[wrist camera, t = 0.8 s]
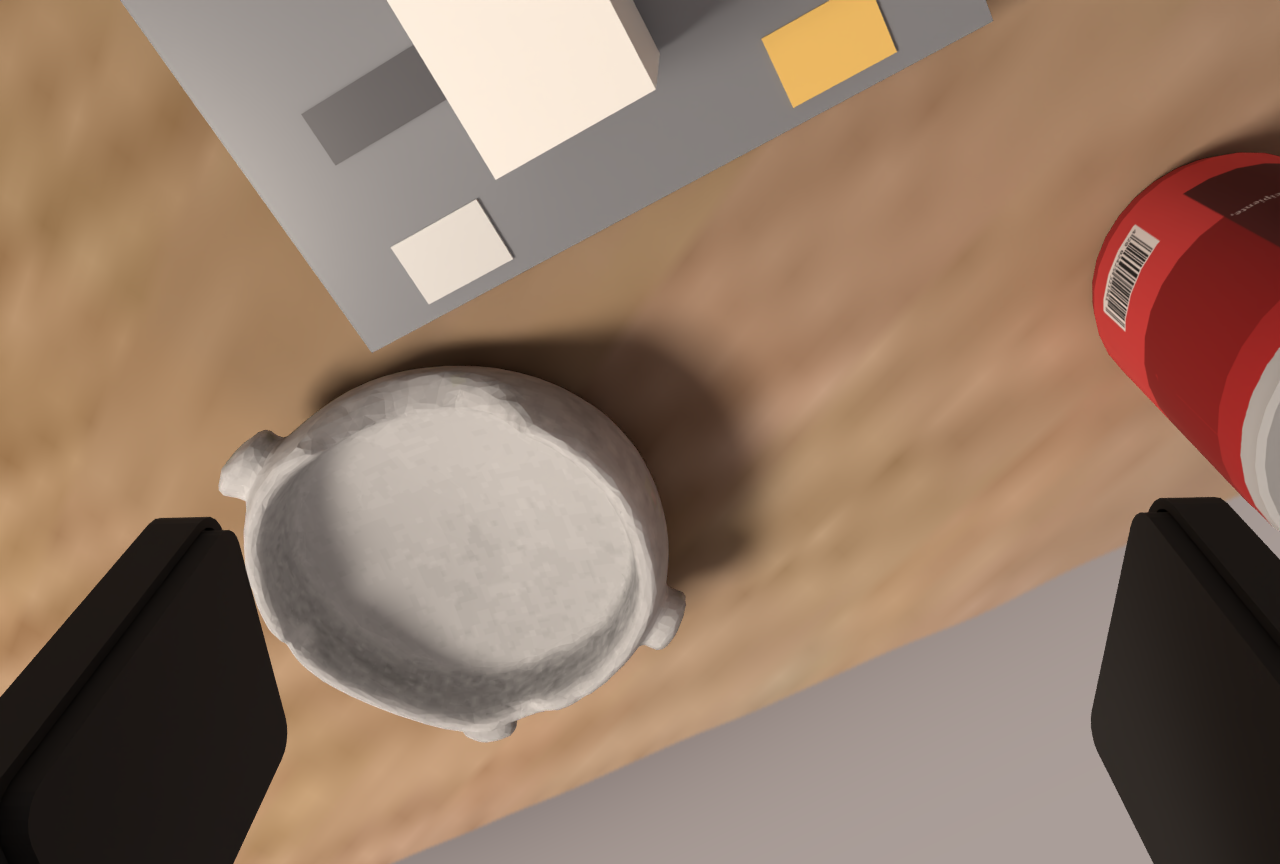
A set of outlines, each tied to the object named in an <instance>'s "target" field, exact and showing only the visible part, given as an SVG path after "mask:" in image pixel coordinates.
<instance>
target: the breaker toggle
mask: <svg viewBox="0 0 1280 864" xmlns="http://www.w3.org/2000/svg"><path fill="white" fill-rule="evenodd" d="M387 2H388V3H389V5H390V6H391V8H392V10H393V11H394V13H395V15H396V16H397V18H398V20H399V21H400V23H401V25H402V26H403V28H404V30H405V31H406V33H407V35H408V36H409V38H410V39H411V41H412V43H413V44H414V46H415V48H416V49H417V51H418V53H419V54H420V56H421V58H422V59H423V61H424V63H425V64H426V66H427V67H428V69H429V71H430V72H431V74H432V76H433V77H434V79H435V81H436V82H437V84H438V86H439V87H440V89H441V91H442V92H443V94H444V96H445V97H446V99H447V100H448V102H449V104H450V105H451V107H452V109H453V110H454V112H455V114H456V115H457V117H458V119H459V120H460V122H461V124H462V125H463V127H464V128H465V130H466V132H467V133H468V135H469V137H470V138H471V140H472V142H473V143H474V145H475V147H476V148H477V150H478V152H479V153H480V155H481V157H482V158H483V160H484V161H485V163H486V165H487V166H488V168H489V170H490V171H491V173H492V175H493V176H494V178H495V180H496V179H498V178H500V177H502V176H504V175H505V174H507V173H509V172H511V171H512V170H514V169H516V168H518V167H519V166H521V165H523V164H525V163H527V162H528V161H530V160H532V159H534V158H535V157H537V156H539V155H541V154H542V153H544V152H546V151H548V150H550V149H551V148H553V147H555V146H557V145H558V144H560V143H562V142H564V141H565V140H567V139H569V138H571V137H573V136H574V135H576V134H578V133H580V132H581V131H583V130H585V129H587V128H588V127H590V126H592V125H594V124H596V123H597V122H599V121H601V120H603V119H604V118H606V117H608V116H610V115H611V114H613V113H615V112H617V111H619V110H620V109H622V108H624V107H626V106H627V105H629V104H631V103H633V102H635V101H636V100H638V99H640V98H642V97H643V96H645V95H647V94H649V93H650V92H652V91H654V90H656V83H657V75H658V66H659V57H660V53H659V51H658V49H657V47H656V45H655V43H654V41H653V39H652V37H651V35H650V33H649V31H648V29H647V27H646V25H645V23H644V21H643V19H642V17H641V15H640V13H639V11H638V9H637V7H636V5H635V3H634V1H633V0H387Z"/></svg>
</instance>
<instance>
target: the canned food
mask: <svg viewBox="0 0 1280 864" xmlns="http://www.w3.org/2000/svg"><path fill="white" fill-rule="evenodd" d="M1092 292H1093V308H1094V314H1095V319H1096V323H1097V327H1098V332H1099V335H1100V337H1101V339H1102V341H1103V344H1104V346H1105V348H1106V350H1107V352H1108V354H1109V355H1110V356H1111V357H1112V359H1113V360H1114V361H1115V362H1116V363H1117V365H1118V366H1119V367H1120V368H1121V369H1122V370H1123V371H1124V373H1125V374H1126V375H1127V376H1128V377H1129V378H1130V379H1131V380H1132V381H1133V382H1134V383H1135V384H1136V385H1137V386H1138V387H1139V388H1140V389H1141V390H1142V391H1143V393H1144V394H1145V395H1146V396H1147V397H1148V398H1149V399H1150V400H1151V401H1152V402H1153V403H1154V404H1155V405H1156V406H1157V407H1158V408H1159V409H1160V410H1161V411H1162V413H1163V414H1164V415H1165V416H1166V417H1167V418H1168V419H1169V420H1170V421H1171V422H1172V423H1173V424H1174V425H1175V426H1176V427H1177V428H1178V429H1179V430H1180V431H1181V433H1182V434H1183V435H1184V436H1185V437H1186V438H1187V439H1188V440H1189V441H1190V442H1191V443H1192V444H1193V445H1194V446H1195V447H1196V448H1197V449H1198V450H1199V452H1200V453H1201V454H1202V455H1203V456H1204V457H1205V458H1206V459H1207V460H1208V461H1209V462H1210V463H1211V464H1212V465H1213V466H1214V467H1215V468H1216V469H1217V470H1218V472H1219V473H1220V474H1221V475H1222V476H1223V477H1224V478H1225V479H1226V480H1227V481H1228V482H1229V483H1230V484H1231V485H1232V486H1233V487H1234V488H1235V489H1236V490H1237V492H1238V493H1239V494H1240V495H1241V496H1242V497H1243V498H1244V499H1245V500H1246V501H1247V502H1248V503H1249V504H1250V505H1251V506H1253V507H1254V508H1255V509H1256V510H1257V511H1258V512H1259V513H1260V514H1261V515H1262V516H1263V517H1264V518H1265V519H1266V520H1267V521H1268V522H1269V523H1270V525H1271V526H1273V527H1274V528H1275V529H1277V530H1278V531H1279V532H1280V156H1276V155H1271V154H1267V153H1233V154H1227V155H1221V156H1216V157H1210V158H1205V159H1200V160H1197V161H1195V162H1192V163H1190V164H1187V165H1184V166H1182V167H1179V168H1177V169H1175V170H1173V171H1171V172H1170V173H1168V174H1166V175H1165V176H1163V177H1161V178H1159V179H1158V180H1156V181H1154V182H1153V183H1152V184H1151V185H1150V186H1148V187H1147V188H1146V189H1145V190H1144V191H1142V192H1141V193H1140V194H1139V195H1138V196H1136V197H1135V198H1134V199H1133V200H1132V202H1131V203H1130V204H1129V205H1128V206H1127V207H1126V209H1125V210H1124V211H1123V212H1122V213H1121V214H1120V215H1119V217H1118V218H1117V220H1116V221H1115V223H1114V225H1113V226H1112V228H1111V230H1110V231H1109V233H1108V234H1107V236H1106V238H1105V240H1104V243H1103V245H1102V248H1101V250H1100V253H1099V255H1098V258H1097V261H1096V266H1095V271H1094V276H1093V281H1092Z"/></svg>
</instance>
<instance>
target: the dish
mask: <svg viewBox="0 0 1280 864" xmlns="http://www.w3.org/2000/svg"><path fill="white" fill-rule="evenodd" d="M219 491H220V492H221V493H222V494H223V495H225V496H230V497H235V498H239V499H242V500H244V501H246V517H245V526H244V553H245V564H246V571H247V575H248V579H249V582H250V585H251V588H252V590H253V593H254V597H255V600H256V604H257V607H258V609H259V611H260V613H261V615H262V617H263V619H264V621H265V623H266V625H267V627H268V628H269V630H270V631H271V632H272V633H273V634H274V635H275V636H276V637H277V638H278V639H279V640H280V641H282V642H284V643H286V644H287V645H288V647H289V648H290V650H291V652H292V653H293V655H294V656H295V657H296V658H297V660H298V661H299V662H300V663H301V664H302V665H303V666H304V667H305V668H306V669H308V670H309V671H310V672H311V673H313V674H314V675H315V676H317V677H318V678H319V679H321V680H322V681H324V682H325V683H327V684H329V685H331V686H333V687H334V688H336V689H338V690H340V691H342V692H344V693H346V694H348V695H350V696H352V697H354V698H356V699H359V700H361V701H363V702H365V703H368V704H370V705H372V706H375V707H377V708H380V709H383V710H385V711H388V712H390V713H393V714H396V715H398V716H402V717H405V718H408V719H411V720H414V721H417V722H420V723H424V724H427V725H431V726H435V727H438V728H442V729H448V730H454V731H462V732H463V733H464V734H465V735H466V737H468V738H471V739H473V740H476V741H478V742H492V741H498V740H500V739H503V738H505V737H508V736H510V735H511V734H512V733H513V732H514V730H515V728H516V725H517V720H519V719H521V718H524V717H526V716H529V715H532V714H535V713H538V712H543V711H549V710H560V709H562V708H565V707H568V706H570V705H572V704H574V703H575V702H577V701H578V700H580V699H581V698H583V697H584V696H586V695H589V694H591V693H592V692H594V691H595V690H596V689H598V688H599V687H600V686H602V685H603V684H604V683H606V682H607V681H608V680H609V679H610V678H611V677H612V676H613V675H614V674H615V673H616V672H617V671H618V670H619V669H620V668H621V667H622V666H623V665H624V664H625V663H626V662H627V661H628V660H629V659H630V657H631V656H632V655H633V653H634V652H635V651H636V650H637V648H638V647H639V646H641V645H646V646H648V647H651V648H653V649H656V650H659V649H663V648H665V647H666V646H667V645H668V644H669V643H670V642H671V640H672V639H673V638H674V636H675V635H676V633H677V631H678V628H679V626H680V623H681V621H682V618H683V615H684V611H685V606H686V602H685V595H684V593H683V592H681V591H678V590H676V589H673V588H671V587H669V586H668V585H667V583H666V581H667V571H668V559H669V549H668V533H667V525H666V520H665V515H664V511H663V508H662V504H661V500H660V497H659V494H658V491H657V488H656V485H655V483H654V481H653V479H652V477H651V474H650V472H649V470H648V468H647V466H646V465H645V463H644V461H643V459H642V457H641V456H640V454H639V452H638V451H637V449H636V448H635V446H634V445H633V444H632V442H631V441H630V440H629V439H628V438H627V436H626V435H625V434H624V433H623V432H622V431H621V430H620V429H619V427H618V426H617V425H616V424H615V423H614V422H612V421H611V420H610V419H609V418H608V417H607V416H606V415H605V414H604V413H602V412H601V411H600V410H598V409H597V408H596V407H594V406H593V405H591V404H590V403H588V402H586V401H585V400H583V399H582V398H580V397H578V396H576V395H575V394H573V393H571V392H569V391H567V390H566V389H564V388H562V387H560V386H557V385H555V384H552V383H550V382H547V381H545V380H542V379H540V378H537V377H533V376H530V375H526V374H522V373H519V372H514V371H509V370H503V369H498V368H490V367H481V366H440V367H427V368H419V369H413V370H407V371H402V372H398V373H395V374H391V375H387V376H383V377H380V378H378V379H375V380H372V381H369V382H367V383H365V384H362V385H360V386H358V387H356V388H354V389H351V390H349V391H348V392H346V393H344V394H343V395H341V396H339V397H338V398H336V399H334V400H333V401H331V402H330V403H329V404H327V405H326V406H324V407H323V408H322V409H320V410H319V411H318V412H316V413H315V414H314V415H312V416H311V417H310V418H308V419H307V420H306V421H305V422H304V423H303V424H301V425H300V426H299V427H298V428H297V429H296V430H294V431H293V432H292V433H291V434H290V435H289V436H287V437H284V438H283V437H280V436H277V435H276V434H274V433H273V432H272V431H268V430H264V431H261V432H258V433H257V434H256V435H254V436H253V437H252V438H250V439H249V440H247V441H246V442H245V443H244V444H242V445H241V446H240V447H239V448H238V449H237V450H236V451H235V453H234V454H233V455H232V456H231V457H230V459H229V460H228V461H227V462H226V464H225V465H224V467H223V468H222V470H221V476H220V481H219Z"/></svg>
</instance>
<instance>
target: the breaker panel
mask: <svg viewBox="0 0 1280 864" xmlns="http://www.w3.org/2000/svg"><path fill="white" fill-rule="evenodd" d="M120 1H121V2H122V3H123V5H124V6H125V8H126V9H127V10H128V12H129V13H130V15H131V16H132V17H133V19H134V20H135V22H136V23H137V24H138V26H139V27H140V29H141V30H142V31H143V33H144V34H145V36H146V37H147V38H148V40H149V41H150V43H151V44H152V45H153V47H154V48H155V50H156V51H157V52H158V54H159V55H160V57H161V58H162V59H163V61H164V62H165V64H166V65H167V66H168V68H169V69H170V71H171V72H172V73H173V75H174V76H175V78H176V79H177V80H178V82H179V83H180V85H181V86H182V87H183V89H184V90H185V92H186V93H187V94H188V96H189V97H190V99H191V100H192V101H193V103H194V104H195V106H196V107H197V108H198V110H199V111H200V113H201V114H202V115H203V117H204V118H205V120H206V121H207V122H208V124H209V125H210V127H211V128H212V129H213V131H214V132H215V134H216V135H217V136H218V138H219V139H220V141H221V142H222V143H223V145H224V146H225V148H226V149H227V151H228V152H229V153H230V155H231V156H232V158H233V159H234V160H235V162H236V163H237V165H238V166H239V167H240V169H241V170H242V172H243V173H244V174H245V176H246V177H247V179H248V180H249V181H250V183H251V184H252V186H253V187H254V188H255V190H256V191H257V193H258V194H259V195H260V197H261V198H262V200H263V201H264V202H265V204H266V205H267V207H268V208H269V209H270V211H271V212H272V214H273V215H274V216H275V218H276V219H277V221H278V222H279V223H280V225H281V226H282V228H283V229H284V230H285V232H286V233H287V235H288V236H289V237H290V239H291V240H292V242H293V243H294V244H295V246H296V247H297V249H298V250H299V251H300V253H301V254H302V256H303V257H304V258H305V260H306V261H307V263H308V264H309V265H310V267H311V268H312V270H313V271H314V272H315V274H316V275H317V277H318V278H319V279H320V281H321V282H322V284H323V285H324V286H325V288H326V289H327V291H328V292H329V293H330V295H331V296H332V298H333V299H334V300H335V302H336V303H337V305H338V306H339V307H340V309H341V310H342V312H343V313H344V314H345V316H346V317H347V319H348V320H349V321H350V323H351V324H352V326H353V327H354V328H355V330H356V331H357V333H358V334H359V335H360V337H361V338H362V340H363V341H364V342H365V344H366V345H367V347H368V348H369V349H370V351H371V352H372V353H373V352H375V351H376V350H378V349H380V348H382V347H384V346H386V345H388V344H390V343H391V342H393V341H395V340H397V339H399V338H401V337H403V336H405V335H406V334H408V333H410V332H412V331H414V330H416V329H418V328H419V327H421V326H423V325H425V324H427V323H429V322H431V321H433V320H434V319H436V318H438V317H440V316H442V315H444V314H446V313H448V312H449V311H451V310H453V309H455V308H457V307H459V306H461V305H463V304H464V303H466V302H468V301H470V300H472V299H474V298H476V297H478V296H479V295H481V294H483V293H485V292H487V291H489V290H491V289H492V288H494V287H496V286H498V285H500V284H502V283H504V282H506V281H507V280H509V279H511V278H513V277H515V276H517V275H519V274H521V273H522V272H524V271H526V270H528V269H530V268H532V267H534V266H536V265H537V264H539V263H541V262H543V261H545V260H547V259H549V258H551V257H552V256H554V255H556V254H558V253H560V252H562V251H564V250H565V249H567V248H569V247H571V246H573V245H575V244H577V243H579V242H580V241H582V240H584V239H586V238H588V237H590V236H592V235H594V234H595V233H597V232H599V231H601V230H603V229H605V228H607V227H609V226H610V225H612V224H614V223H616V222H618V221H620V220H622V219H624V218H625V217H627V216H629V215H631V214H633V213H635V212H637V211H638V210H640V209H642V208H644V207H646V206H648V205H650V204H652V203H653V202H655V201H657V200H659V199H661V198H663V197H665V196H667V195H668V194H670V193H672V192H674V191H676V190H678V189H680V188H682V187H683V186H685V185H687V184H689V183H691V182H693V181H695V180H697V179H698V178H700V177H702V176H704V175H706V174H708V173H710V172H711V171H713V170H715V169H717V168H719V167H721V166H723V165H725V164H726V163H728V162H730V161H732V160H734V159H736V158H738V157H740V156H741V155H743V154H745V153H747V152H749V151H751V150H753V149H755V148H756V147H758V146H760V145H762V144H764V143H766V142H768V141H770V140H771V139H773V138H775V137H777V136H779V135H781V134H783V133H785V132H786V131H788V130H790V129H792V128H794V127H796V126H798V125H799V124H801V123H803V122H805V121H807V120H809V119H811V118H813V117H814V116H816V115H818V114H820V113H822V112H824V111H826V110H828V109H829V108H831V107H833V106H835V105H837V104H839V103H841V102H843V101H844V100H846V99H848V98H850V97H852V96H854V95H856V94H858V93H859V92H861V91H863V90H865V89H867V88H869V87H871V86H872V85H874V84H876V83H878V82H880V81H882V80H884V79H886V78H887V77H889V76H891V75H893V74H895V73H897V72H899V71H901V70H902V69H904V68H906V67H908V66H910V65H912V64H914V63H916V62H917V61H919V60H921V59H923V58H925V57H927V56H929V55H931V54H932V53H934V52H936V51H938V50H940V49H942V48H944V47H945V46H947V45H949V44H951V43H953V42H955V41H957V40H959V39H960V38H962V37H964V36H966V35H968V34H970V33H972V32H974V31H975V30H977V29H979V28H981V27H983V26H985V25H987V24H989V23H990V22H992V21H993V19H992V16H991V13H990V10H989V8H988V5H987V2H986V0H633V1H634V3H635V5H636V7H637V9H638V11H639V13H640V15H641V17H642V19H643V21H644V23H645V25H646V27H647V29H648V31H649V33H650V35H651V37H652V39H653V41H654V43H655V45H656V47H657V49H658V51H659V53H660V57H659V66H658V75H657V83H656V90H654V91H652V92H650V93H649V94H647V95H645V96H643V97H642V98H640V99H638V100H636V101H635V102H633V103H631V104H629V105H627V106H626V107H624V108H622V109H620V110H619V111H617V112H615V113H613V114H611V115H610V116H608V117H606V118H604V119H603V120H601V121H599V122H597V123H596V124H594V125H592V126H590V127H588V128H587V129H585V130H583V131H581V132H580V133H578V134H576V135H574V136H573V137H571V138H569V139H567V140H565V141H564V142H562V143H560V144H558V145H557V146H555V147H553V148H551V149H550V150H548V151H546V152H544V153H542V154H541V155H539V156H537V157H535V158H534V159H532V160H530V161H528V162H527V163H525V164H523V165H521V166H519V167H518V168H516V169H514V170H512V171H511V172H509V173H507V174H505V175H504V176H502V177H500V178H498V179H496V180H495V178H494V176H493V175H492V173H491V171H490V170H489V168H488V166H487V165H486V163H485V161H484V160H483V158H482V157H481V155H480V153H479V152H478V150H477V148H476V147H475V145H474V143H473V142H472V140H471V138H470V137H469V135H468V133H467V132H466V130H465V128H464V127H463V125H462V124H461V122H460V120H459V119H458V117H457V115H456V114H455V112H454V110H453V109H452V107H451V105H450V104H449V102H448V100H447V99H446V97H445V96H444V94H443V92H442V91H441V89H440V87H439V86H438V84H437V82H436V81H435V79H434V77H433V76H432V74H431V72H430V71H429V69H428V67H427V66H426V64H425V63H424V61H423V59H422V58H421V56H420V54H419V53H418V51H417V49H416V48H415V46H414V44H413V43H412V41H411V39H410V38H409V36H408V35H407V33H406V31H405V30H404V28H403V26H402V25H401V23H400V21H399V20H398V18H397V16H396V15H395V13H394V11H393V10H392V8H391V6H390V5H389V3H388V2H387V0H120Z"/></svg>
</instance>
